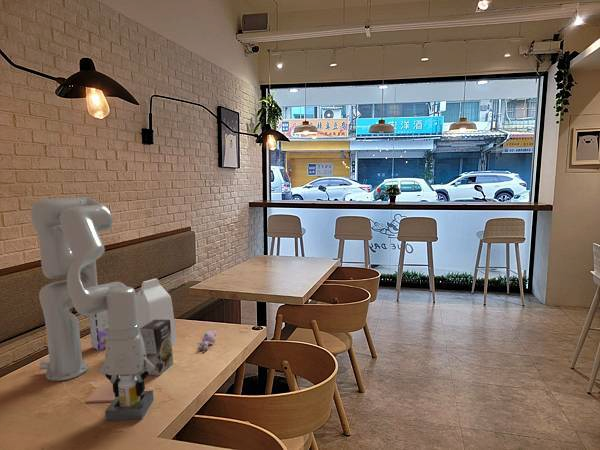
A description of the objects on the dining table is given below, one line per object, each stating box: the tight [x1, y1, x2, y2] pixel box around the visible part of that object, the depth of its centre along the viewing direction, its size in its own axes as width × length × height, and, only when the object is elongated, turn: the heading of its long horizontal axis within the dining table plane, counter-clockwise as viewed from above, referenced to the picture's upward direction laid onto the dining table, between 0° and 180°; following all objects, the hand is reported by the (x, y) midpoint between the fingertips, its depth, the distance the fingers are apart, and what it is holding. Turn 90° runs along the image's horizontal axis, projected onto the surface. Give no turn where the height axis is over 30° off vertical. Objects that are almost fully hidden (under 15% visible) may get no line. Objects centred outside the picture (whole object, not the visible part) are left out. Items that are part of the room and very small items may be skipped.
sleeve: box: [104, 390, 154, 422], centre depth 116 cm, size 10×10×3 cm
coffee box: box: [140, 320, 174, 376], centre depth 140 cm, size 9×6×16 cm
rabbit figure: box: [197, 330, 218, 353], centre depth 159 cm, size 6×6×15 cm
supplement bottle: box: [118, 374, 140, 407], centre depth 115 cm, size 5×5×10 cm
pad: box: [85, 382, 116, 404], centre depth 126 cm, size 10×10×1 cm
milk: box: [136, 277, 178, 345], centre depth 160 cm, size 12×12×26 cm
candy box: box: [88, 311, 109, 352], centre depth 163 cm, size 14×6×16 cm, turn 141°
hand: (129, 393), depth 115 cm, fingers closed on supplement bottle, 5 cm apart
